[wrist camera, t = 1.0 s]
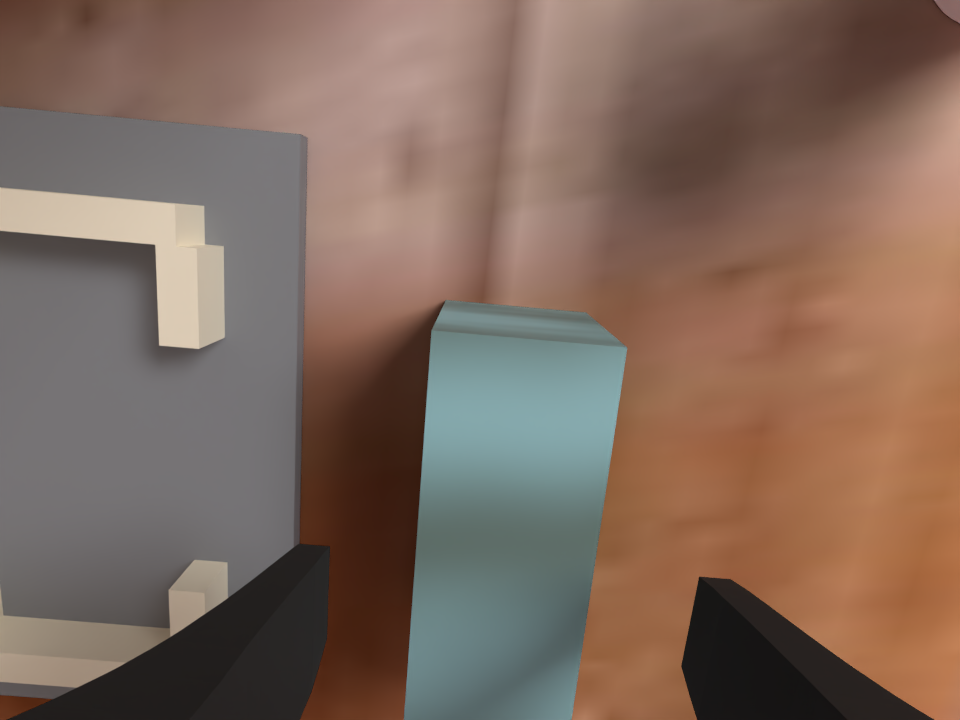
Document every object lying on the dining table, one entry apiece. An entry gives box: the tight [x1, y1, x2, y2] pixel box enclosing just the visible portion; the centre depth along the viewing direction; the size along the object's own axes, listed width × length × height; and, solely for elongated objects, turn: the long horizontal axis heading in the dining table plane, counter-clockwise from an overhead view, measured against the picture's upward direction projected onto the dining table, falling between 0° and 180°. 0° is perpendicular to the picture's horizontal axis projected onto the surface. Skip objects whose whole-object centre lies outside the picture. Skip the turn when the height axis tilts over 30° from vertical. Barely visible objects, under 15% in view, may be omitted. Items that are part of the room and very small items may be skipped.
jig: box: [0, 106, 307, 699], centre depth 16 cm, size 18×12×2 cm, turn 175°
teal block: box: [404, 300, 627, 720], centre depth 15 cm, size 10×4×5 cm, turn 175°
